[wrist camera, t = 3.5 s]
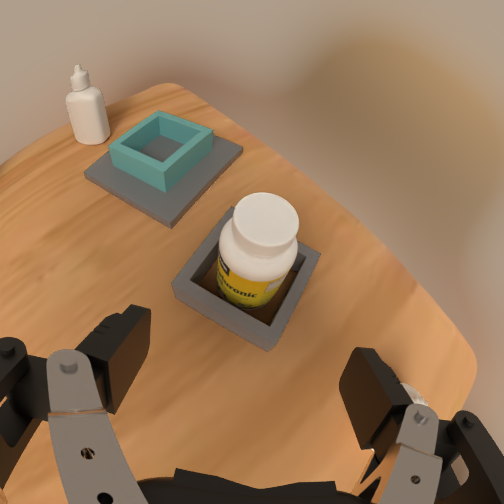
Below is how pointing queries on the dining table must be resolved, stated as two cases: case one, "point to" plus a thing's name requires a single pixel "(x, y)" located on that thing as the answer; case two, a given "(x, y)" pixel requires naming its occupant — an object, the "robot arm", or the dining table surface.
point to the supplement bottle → (256, 250)
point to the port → (163, 165)
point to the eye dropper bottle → (87, 110)
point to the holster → (228, 314)
